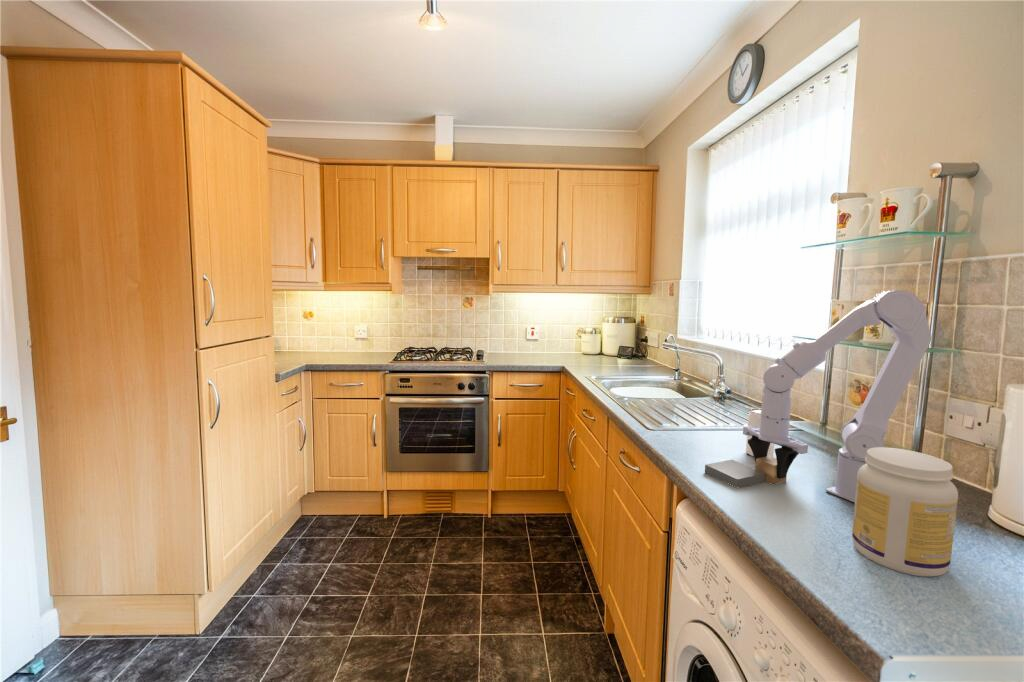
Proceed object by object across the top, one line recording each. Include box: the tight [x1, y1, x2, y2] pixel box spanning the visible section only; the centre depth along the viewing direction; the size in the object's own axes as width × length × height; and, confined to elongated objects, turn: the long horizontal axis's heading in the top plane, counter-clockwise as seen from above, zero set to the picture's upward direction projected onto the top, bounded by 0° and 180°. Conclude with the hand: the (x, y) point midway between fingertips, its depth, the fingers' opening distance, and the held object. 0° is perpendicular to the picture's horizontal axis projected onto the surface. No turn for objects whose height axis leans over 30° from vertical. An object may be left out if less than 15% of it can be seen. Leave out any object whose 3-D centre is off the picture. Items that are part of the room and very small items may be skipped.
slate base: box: [704, 459, 766, 488], centre depth 103 cm, size 9×9×2 cm
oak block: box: [755, 456, 788, 485], centre depth 102 cm, size 4×4×4 cm
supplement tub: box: [851, 446, 959, 578], centre depth 71 cm, size 12×12×17 cm
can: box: [745, 408, 775, 458], centre depth 117 cm, size 6×6×12 cm
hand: (770, 473), depth 102 cm, fingers closed on oak block, 4 cm apart
